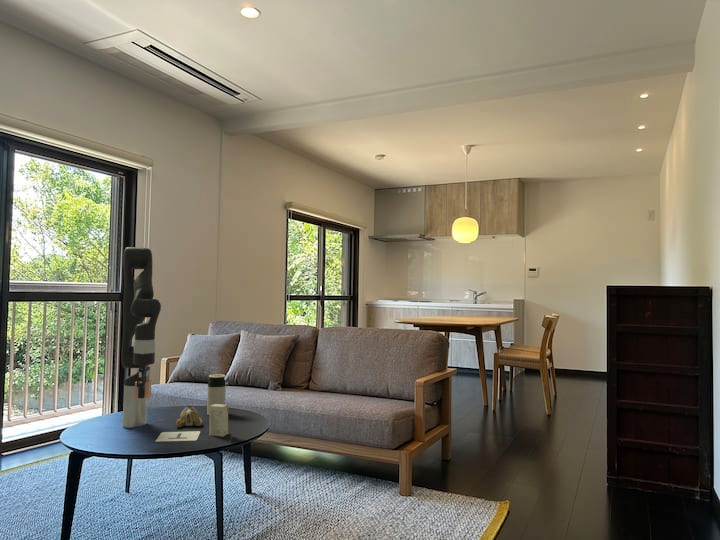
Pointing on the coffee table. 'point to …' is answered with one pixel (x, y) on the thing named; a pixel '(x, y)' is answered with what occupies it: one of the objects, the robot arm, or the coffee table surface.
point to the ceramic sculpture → (189, 418)
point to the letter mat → (178, 436)
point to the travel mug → (216, 390)
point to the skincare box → (218, 420)
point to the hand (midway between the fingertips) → (142, 396)
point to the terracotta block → (147, 390)
